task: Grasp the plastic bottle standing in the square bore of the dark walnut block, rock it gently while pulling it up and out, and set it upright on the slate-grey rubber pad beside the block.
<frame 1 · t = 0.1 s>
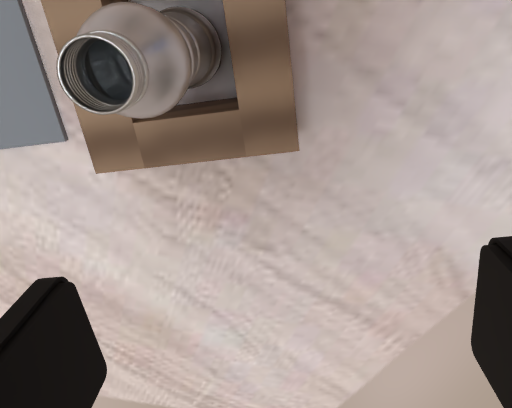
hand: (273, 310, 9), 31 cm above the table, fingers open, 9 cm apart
bore block: (188, 47, 36), on the table
plastic bottle: (188, 46, 37), resting in bore block
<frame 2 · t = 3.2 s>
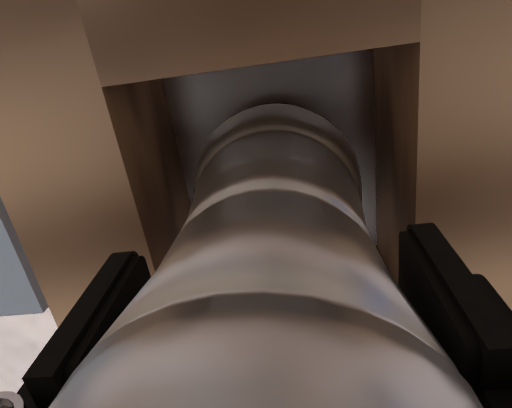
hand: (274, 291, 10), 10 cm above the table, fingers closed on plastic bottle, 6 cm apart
bore block: (276, 163, 19), on the table
plastic bottle: (276, 162, 19), resting in bore block, touching gripper
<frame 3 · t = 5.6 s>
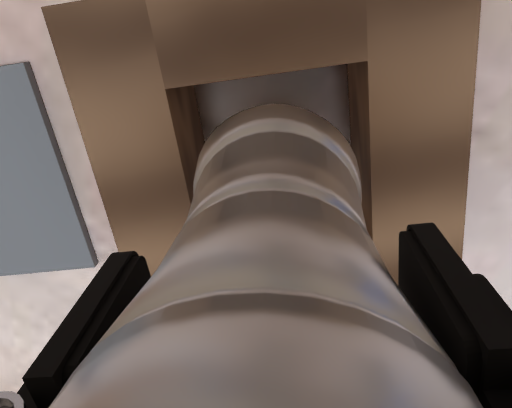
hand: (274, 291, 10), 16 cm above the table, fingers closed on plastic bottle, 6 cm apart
bore block: (277, 147, 25), on the table
plastic bottle: (276, 162, 19), point 6 cm above the table, touching gripper
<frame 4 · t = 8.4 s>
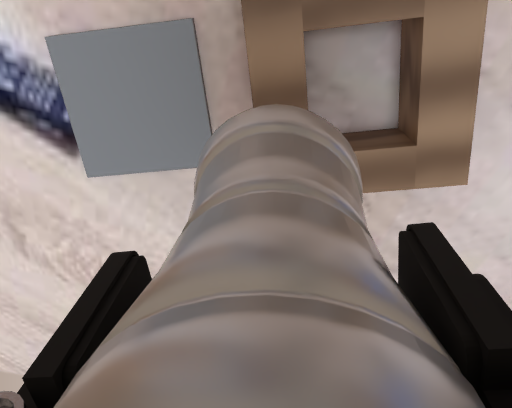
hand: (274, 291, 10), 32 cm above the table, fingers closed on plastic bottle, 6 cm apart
bore block: (351, 80, 38), on the table
plastic bottle: (277, 162, 19), point 22 cm above the table, touching gripper
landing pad: (137, 103, 40), on the table
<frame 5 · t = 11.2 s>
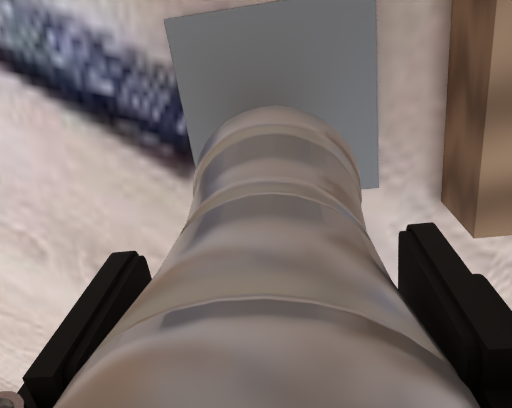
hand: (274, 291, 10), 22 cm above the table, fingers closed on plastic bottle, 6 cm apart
plastic bottle: (276, 163, 19), point 12 cm above the table, touching gripper
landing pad: (278, 107, 30), on the table
when the fingers open (11 cm above the table, at t = 13.6 s): plastic bottle drops 1 cm, resting on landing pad.
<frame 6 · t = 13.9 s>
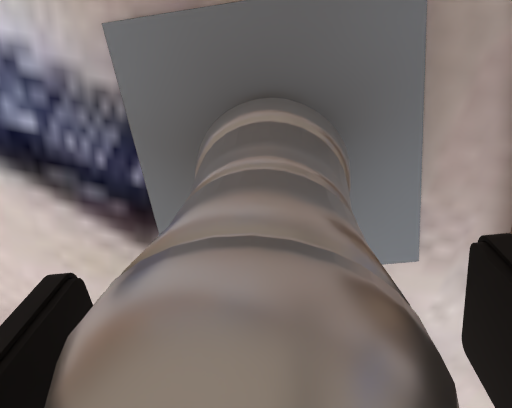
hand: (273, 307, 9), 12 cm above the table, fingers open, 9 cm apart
plastic bottle: (273, 153, 20), resting on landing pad
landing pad: (277, 151, 20), on the table
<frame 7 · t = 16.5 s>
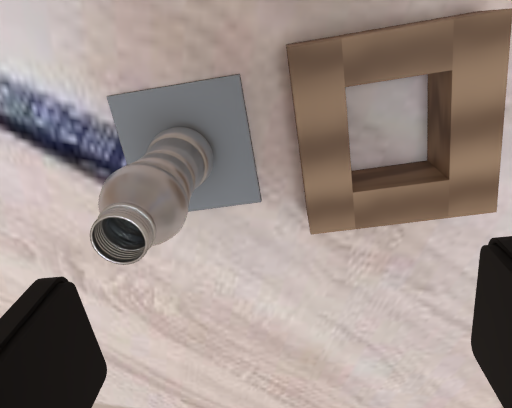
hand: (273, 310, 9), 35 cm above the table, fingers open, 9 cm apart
bore block: (383, 121, 42), on the table
plastic bottle: (186, 151, 44), resting on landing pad
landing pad: (188, 150, 44), on the table
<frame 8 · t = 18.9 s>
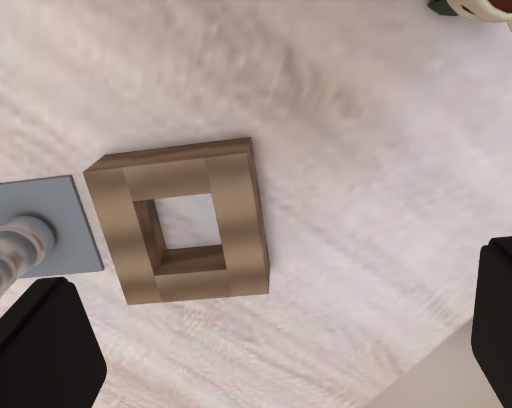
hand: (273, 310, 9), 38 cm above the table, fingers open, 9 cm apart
bore block: (191, 213, 52), on the table
plastic bottle: (36, 230, 54), resting on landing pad
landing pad: (39, 229, 54), on the table
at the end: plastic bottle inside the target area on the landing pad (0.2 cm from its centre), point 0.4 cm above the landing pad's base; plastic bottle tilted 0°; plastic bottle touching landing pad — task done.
